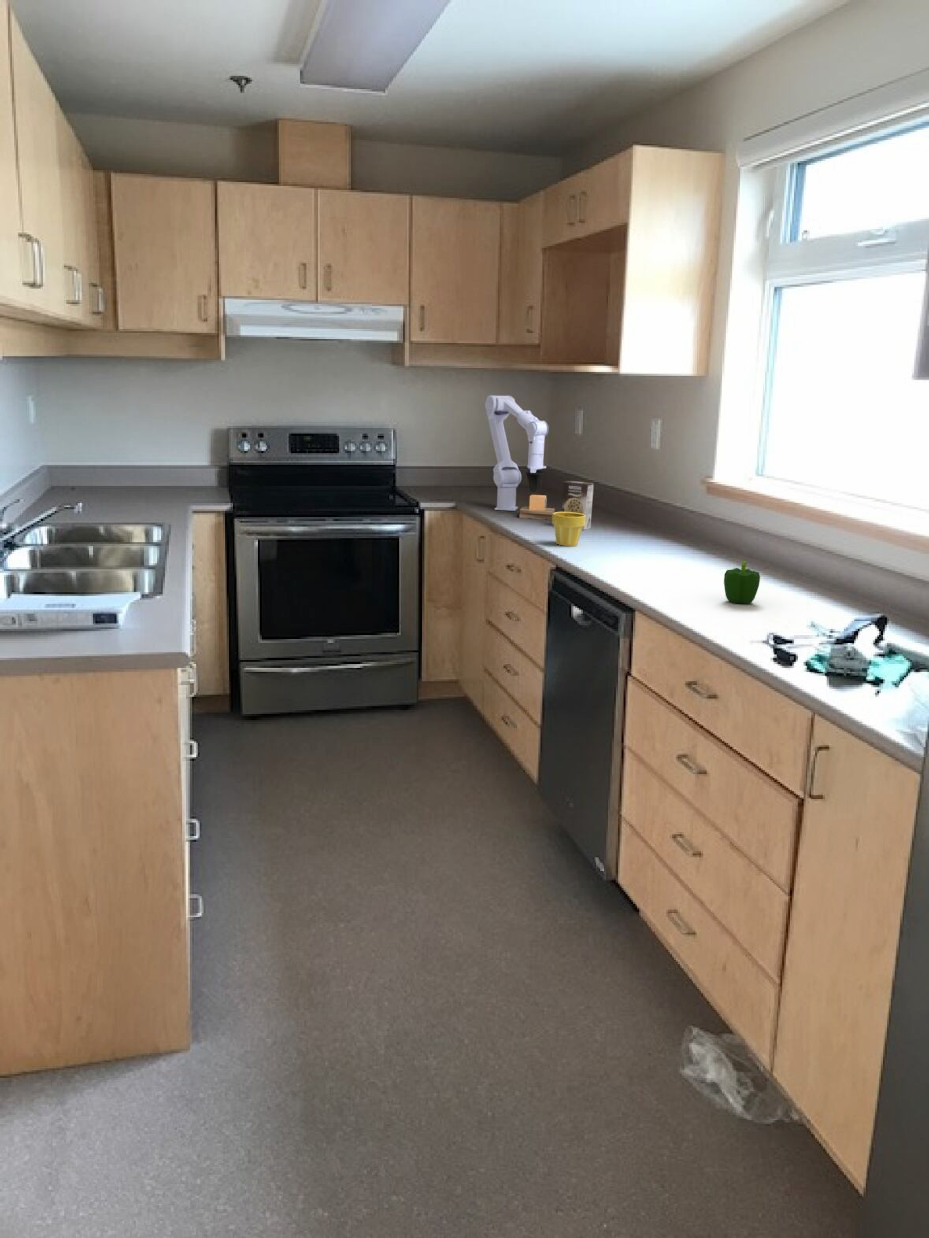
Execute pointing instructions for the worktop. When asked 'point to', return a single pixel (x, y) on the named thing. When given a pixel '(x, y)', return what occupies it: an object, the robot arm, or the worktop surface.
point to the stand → (537, 513)
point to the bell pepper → (741, 584)
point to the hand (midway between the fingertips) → (534, 490)
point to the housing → (538, 502)
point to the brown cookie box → (578, 499)
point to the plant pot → (568, 527)
